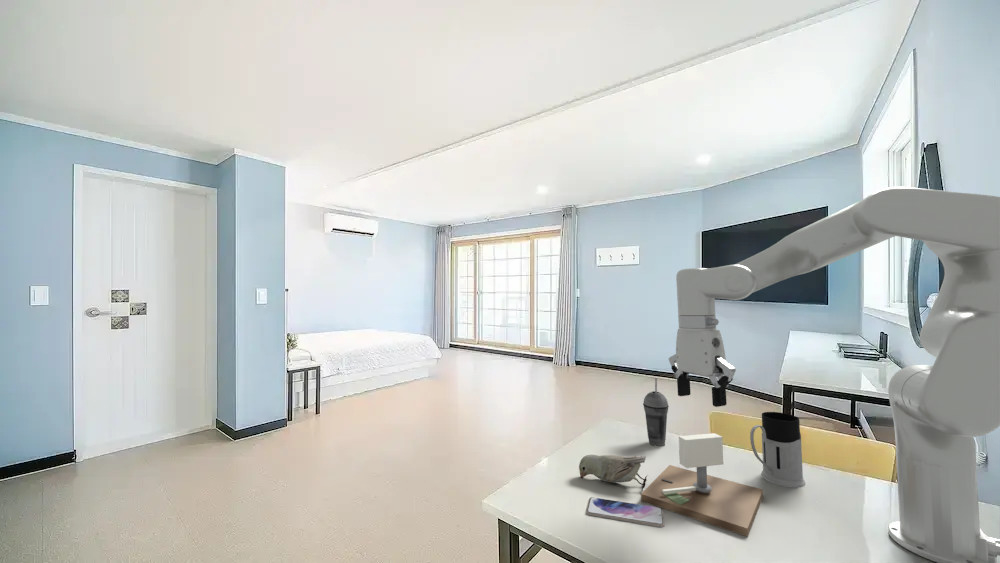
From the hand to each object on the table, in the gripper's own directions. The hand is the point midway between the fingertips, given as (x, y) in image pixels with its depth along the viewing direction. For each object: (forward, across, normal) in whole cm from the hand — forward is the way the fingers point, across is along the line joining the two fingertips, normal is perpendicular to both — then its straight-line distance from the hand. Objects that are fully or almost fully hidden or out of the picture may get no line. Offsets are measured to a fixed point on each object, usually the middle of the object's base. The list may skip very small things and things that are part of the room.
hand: (701, 400), depth 87 cm
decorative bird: (+22, +14, +14) cm, 29 cm away
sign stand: (+20, +1, +3) cm, 20 cm away
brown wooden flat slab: (+22, 0, 0) cm, 22 cm away
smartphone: (+22, +2, +20) cm, 30 cm away
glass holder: (+22, +1, -22) cm, 31 cm away
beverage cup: (+22, +30, -12) cm, 39 cm away
